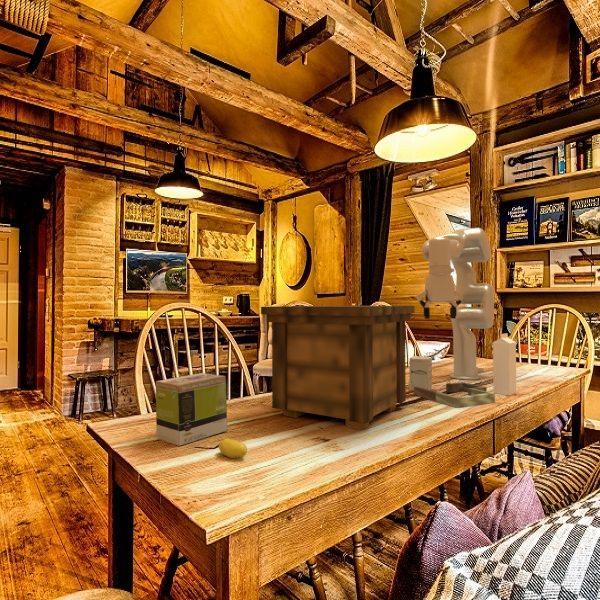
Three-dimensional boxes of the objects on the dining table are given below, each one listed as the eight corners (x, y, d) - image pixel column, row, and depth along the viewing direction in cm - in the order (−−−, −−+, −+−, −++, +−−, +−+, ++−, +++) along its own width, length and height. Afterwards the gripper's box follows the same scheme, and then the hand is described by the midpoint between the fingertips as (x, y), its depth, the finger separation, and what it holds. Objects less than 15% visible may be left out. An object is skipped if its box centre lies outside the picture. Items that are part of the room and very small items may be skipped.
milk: (516, 393, 155) (516, 333, 155) (509, 395, 151) (510, 334, 151) (499, 390, 159) (499, 332, 159) (492, 393, 155) (492, 333, 155)
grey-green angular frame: (460, 389, 162) (460, 381, 162) (507, 400, 143) (507, 391, 143) (413, 395, 152) (413, 387, 152) (457, 407, 133) (457, 398, 133)
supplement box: (408, 391, 159) (408, 357, 160) (413, 387, 166) (413, 355, 166) (428, 392, 156) (428, 359, 156) (432, 389, 163) (432, 356, 163)
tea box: (203, 425, 116) (203, 371, 116) (228, 432, 110) (227, 375, 110) (154, 438, 104) (154, 379, 104) (178, 447, 98) (178, 384, 98)
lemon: (228, 450, 96) (228, 433, 96) (251, 458, 91) (251, 440, 91) (213, 455, 93) (213, 437, 93) (236, 464, 88) (236, 445, 88)
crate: (261, 416, 124) (260, 306, 125) (321, 394, 154) (320, 305, 154) (370, 436, 105) (369, 306, 105) (415, 407, 134) (414, 305, 135)
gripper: (458, 272, 158) (458, 318, 157) (413, 272, 157) (413, 318, 156) (467, 271, 150) (467, 318, 150) (420, 270, 149) (420, 319, 149)
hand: (440, 318), depth 153 cm, fingers open, 9 cm apart
